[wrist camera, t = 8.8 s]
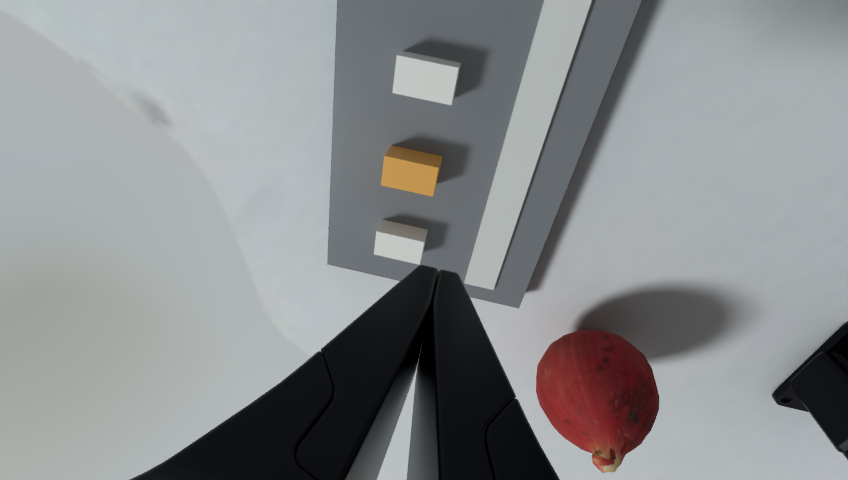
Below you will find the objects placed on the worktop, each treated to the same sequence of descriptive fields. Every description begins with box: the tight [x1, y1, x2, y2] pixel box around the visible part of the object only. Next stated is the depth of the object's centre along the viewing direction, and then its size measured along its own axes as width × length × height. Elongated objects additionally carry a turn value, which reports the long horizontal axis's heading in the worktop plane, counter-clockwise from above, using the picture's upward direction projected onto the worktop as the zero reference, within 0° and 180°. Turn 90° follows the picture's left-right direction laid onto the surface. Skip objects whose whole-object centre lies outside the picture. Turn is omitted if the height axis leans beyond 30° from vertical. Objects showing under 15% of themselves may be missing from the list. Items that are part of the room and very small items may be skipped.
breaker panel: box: [327, 0, 642, 308], centre depth 18 cm, size 11×18×2 cm, turn 170°
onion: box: [536, 329, 659, 473], centre depth 21 cm, size 6×6×8 cm
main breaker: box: [381, 145, 443, 197], centre depth 18 cm, size 2×1×1 cm, turn 80°
